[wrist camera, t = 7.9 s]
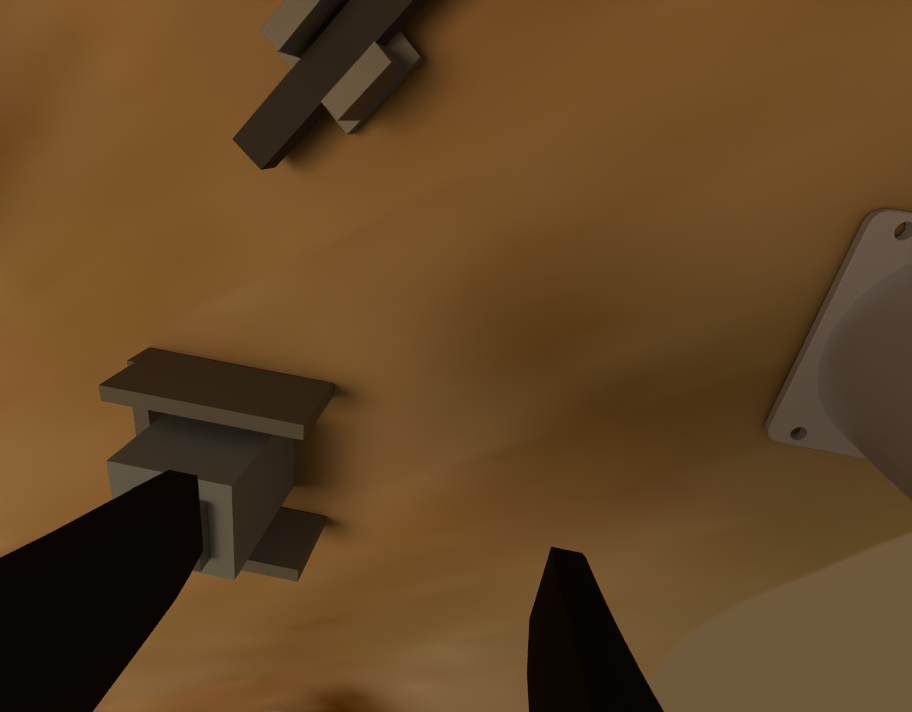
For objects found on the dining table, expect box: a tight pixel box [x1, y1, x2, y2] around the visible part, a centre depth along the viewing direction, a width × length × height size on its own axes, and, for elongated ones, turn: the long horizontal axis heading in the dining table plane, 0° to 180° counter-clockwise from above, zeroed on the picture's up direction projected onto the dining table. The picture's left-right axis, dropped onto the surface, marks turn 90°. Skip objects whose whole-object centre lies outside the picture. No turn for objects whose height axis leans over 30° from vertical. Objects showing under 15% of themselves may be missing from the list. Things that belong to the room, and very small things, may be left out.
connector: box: [107, 413, 295, 580], centre depth 19 cm, size 4×4×6 cm
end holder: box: [99, 348, 333, 582], centre depth 20 cm, size 7×7×3 cm
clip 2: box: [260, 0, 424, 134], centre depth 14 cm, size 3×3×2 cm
